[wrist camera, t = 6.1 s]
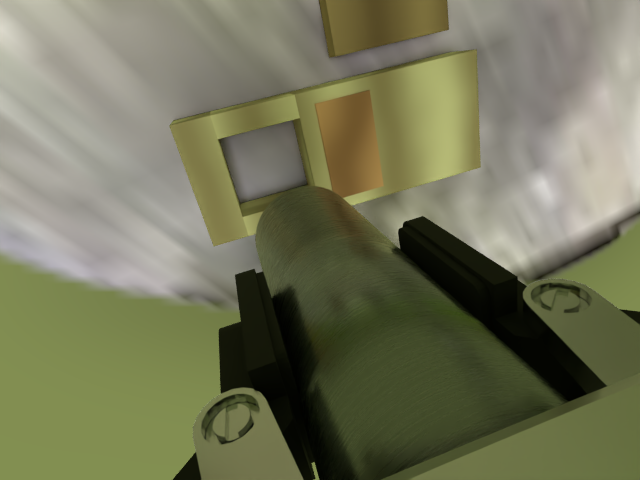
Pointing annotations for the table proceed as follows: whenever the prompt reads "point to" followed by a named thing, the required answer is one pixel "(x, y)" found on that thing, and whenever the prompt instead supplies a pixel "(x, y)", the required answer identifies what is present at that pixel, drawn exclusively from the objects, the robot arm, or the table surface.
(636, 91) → the table surface
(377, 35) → the tab
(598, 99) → the table surface
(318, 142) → the block with square hole
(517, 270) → the table surface
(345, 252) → the peg
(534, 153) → the table surface
